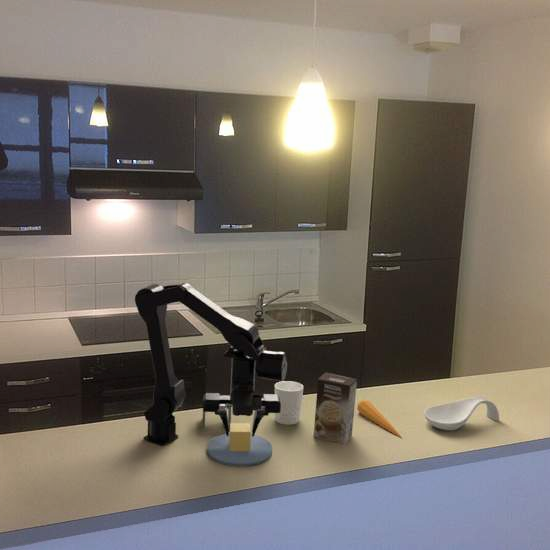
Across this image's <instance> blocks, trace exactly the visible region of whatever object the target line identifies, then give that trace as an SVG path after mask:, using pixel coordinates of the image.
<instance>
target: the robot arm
mask: <svg viewBox="0 0 550 550" xmlns="http://www.w3.org/2000/svg"><path fill="white" fill-rule="evenodd" d="M178 302H180V304H182V305H183V306H184V307H185V306H186V308H188V309H189V310H190V311H192V312H194V314H195V315H197V316H199V317H200V318H202V319H203V320H204V321H206V322H207V323H209V324H210V325H211V326H213V328H215V329H217V331H219V332H220V333H221V334H220V335H222V337H223V339H224V340H225V341H226V342H227V343H228V344H229V345H230V347H229V349H227V350H226V351H225V352H224V353H223V357H224V358H230V359H231V371H230V394H229V396H230V398H220V396H221V395H220V393H219V392H218V393H217V392H214V393H213V392H206V393H205V394H203V400H202V412H203V411H204V412H205V413H214V415H216V416H219V417H220V420H221V422H222V425H223V428H224V431H225V434H226V435H227V436H229V433H230V430H229V427H228V409H227V406H231V414H232V415H233V416H235V417H238V416H246V417H251V416H253V419H252V427H251V434H252V437H254V435H256V433H257V430H258V427H259V425H260V423H261V421H262V419H263V418H265V416H266V417H267V416H269V415H270V414H275V413H280V411H281V402H280V398H279V396H278V395H277V394H275V393H274V394H272V393H271V394H270V393H269V394H268V393H263V397H262V394H261V393H255V379H256V378H255V377H256V376H257V377H259V378H260V379H263V380H264V379H265V380H270V381H279V382H282V381H285V379H286V375H287V372H288V371H287V370H288V363H287V358H286V352H284V351H271V350H267V349H268V347H267V346H266V345H265V343H264V342H263V340H262V337H261V336H260V332H259V329H258V327H257V326H256V324H254V323H252V322H250V321H248V320H246V319H244V318H241V317H238V316H234V315H232V314H230V313H228V312H227V311H226V310H224V308H222V307H220V306H218V304H216V303H214V302H213V301H212V300H210V299H209V298H208V297H206V296H204V295H203V294H202V293H200V291H198V290H196V288H194V287H193V286H192V285H191V284H189V283H187V282H182V283H180V284H179V283H178V284H170V285H161V284H159V283H153V284H150V285H148V286H145V287H144V288H141V289H139V290H138V291H137V292H136V294H135V296H134V303H135V306H136V309H137V312H138V314H139V316H140V318H141V319H142V320H143V323H145V326H146V332H147V337H148V342H149V348H150V354H151V360H152V365H153V371H154V372H153V373H154V377H155V383H154V387H153V392H152V393H153V395H152V397H153V400H152V402H153V404H152V405H151V406H150V407H149V408H147V409H146V410H145V411H144V412H143V415H144V418H145V421H147V434H146V435H145V436H143V440H145V441H148V442H151V443H154V444H157V445H160V446H165V445H166V444H169V443H170V442H172V441H174V440H176V439H178V438H179V435H178V433H176V432H177V431H176V430H177V423H176V421H175V420H176V416H175V415H173V414H174V413H175V412H176V411H177V409H178V408H179V407H180V406H181V405H182V404H183V403H184V401H185V396H186V395H187V394H188V393H187V391H186V389H185V381H184V379H178V378H177V376H176V375H175V372H174V365H173V360H172V353H171V348H170V347H171V346H170V341H169V336H168V332H167V331H168V330H167V325H166V315H167V310H168V305H170V304H173V303H178ZM255 374H256V375H255Z"/></svg>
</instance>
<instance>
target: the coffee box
mask: <svg viewBox="0 0 550 550" xmlns="http://www.w3.org/2000/svg"><path fill="white" fill-rule="evenodd" d="M357 384H358V379H357V378H353V377H350V376H344V375H340V374H336V373H331V372H324V373H323V374H322V375H321V376H320V377H319V378H318V379H317V386H316V387H317V389H316V398H315V399H316V402H315V414H314V428H313V437H316V438H320V439H323V440H327V441H332V442H335V443H338V444H339V443H340V444H343V445H346V443H347V442H348V441H349V440H350V439H351V438H352V436H353V428H354V427H353V426H354V416H355V405H356V396H357V395H356V393H357Z"/></svg>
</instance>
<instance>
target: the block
mask: <svg viewBox="0 0 550 550" xmlns="http://www.w3.org/2000/svg"><path fill="white" fill-rule="evenodd" d="M229 433H230V451H250V445H251V434H252V427H251V423H250V422H249V423H247V422H245V423H240V422H239V423H233V422H231V423H230V430H229Z"/></svg>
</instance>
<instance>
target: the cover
mask: <svg viewBox="0 0 550 550" xmlns="http://www.w3.org/2000/svg"><path fill="white" fill-rule="evenodd" d="M220 398H230V395H220ZM227 416H228V427H229V429H230V423H232V406H227ZM201 425H202V429H205V428H206V427H205V426H206V412H204V411H203V410H202V424H201ZM202 429H201V430H202Z"/></svg>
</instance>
